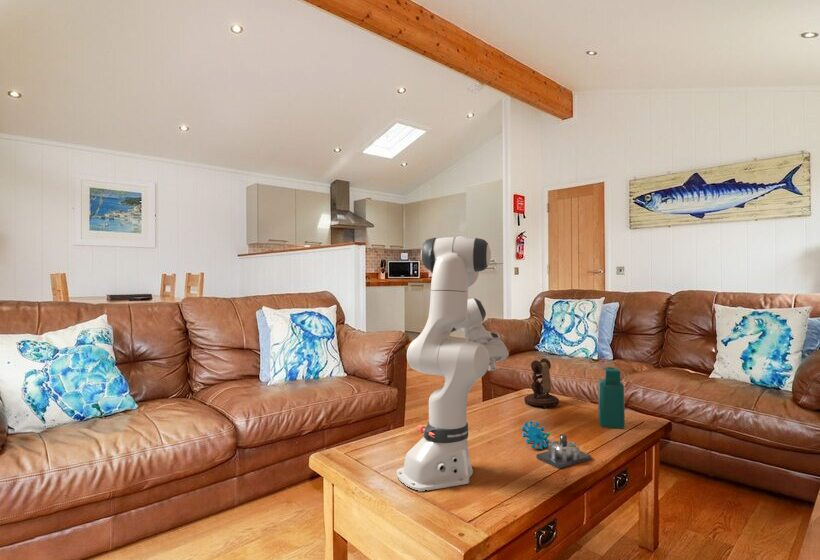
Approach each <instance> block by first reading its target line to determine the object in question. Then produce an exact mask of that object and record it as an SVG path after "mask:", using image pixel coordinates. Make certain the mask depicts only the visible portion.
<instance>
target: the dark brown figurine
mask: <svg viewBox="0 0 820 560" xmlns="http://www.w3.org/2000/svg"><path fill="white" fill-rule="evenodd" d="M551 367H552V365H551V361H550V360H549V359H548V358H541V359H540V360H537V359H536V360H533V361H532V362H531V364H530V368H531V370H532V375H533V376H532V377H531V379H532V380H533V381H532V384H531V390H532V392H533V393H528V394H527V395H525V396H524V399H523V400H524V404H525V405H528V404H530V405H532V406H541V407H543V409H544V410H546V408H547V407H553V406H557V405H559V403H560V400H559V398H558V397H557V396H555V395H553V394H550V392H551V390H552V381H551V375H550V371H551ZM539 379H541V380H540V381H537V380H539Z"/></svg>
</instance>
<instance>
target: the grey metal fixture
mask: <svg viewBox="0 0 820 560" xmlns="http://www.w3.org/2000/svg"><path fill="white" fill-rule="evenodd" d="M567 436H568V435H567V434H560V436H559V440H554V439H553V440H550V442H551V443H550V442H549V443H548V444H547V446H548V447H547V448H548V451H543V452H541V453H540V452H539V453H537V454H536V459H537V460H539V461H542V462H544V463H546V464H548V465H549V466H551V467H553V468H556V469H558V470H560V469H563V468H567V467H570V466H573V465H577V464H579V463H580V464H581V463H583V462H586V461H590V460H592V455H591V454H589V453H586V452H584V451H581V450H580V446H579V445H576V442H573V441H570V442H569V441H568V437H567Z"/></svg>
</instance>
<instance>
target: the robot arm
mask: <svg viewBox="0 0 820 560" xmlns="http://www.w3.org/2000/svg"><path fill="white" fill-rule="evenodd" d="M420 258H421V263H422V265H423V266H424V267H425V269H427V270H429V271H430V273H432V274H431V283H430V294H429V295H430V299H429V310H428V316H427V321H426V324H425V326H424V328H423V329H422V331H421V332H420V334H418V336H417V337H416V338H414V339H413V340H411V342H410V344H409V345H408V348H407V350H406V360H407V363H408V365H409V367H410V368H411V369H412V370H414V371H417V372H419V373H422V374H425V375H433V376H438V377H439V376H441V377H444V384H443V386H441V387H440V388H438V389H436V390H434V391H433V392H432V393H431V394H430V395H429V399H428V422H427V424H426V426H424V425H422V424H419V425H417V428H416V430H417V432H420V433H421V434H423V437H421V439H419V440H418V441H417V443H416V444H414V445H413V447H411V448H410V449H409V450H408V451H407V452H406V454H405V457H404V462H403V463H404V464H403V466H402V467H400V468H397V469H396V474H397V476H396V478H397V477H398V478H399V480H400V481H401V482H402V483H404V484H405V485H406V486H405V485H404V484H403V485H404V486H405V487H407V486H408V487H410V488H412V489H415V490H418V491H417V492H426V491H425V490H427V491H432V490H438V489H444V488H450V487H457V486H461V485H463V486H464V485H467V484H469V483H470V480H471V479H470V478H471V477H472V476H473V473H474V470H473V467H472V463H471V459H470V454H469V445H468V438H469V424H468V421H467V419H468V418H467V414H468V413H467V412H468V411H467V408H468V398H469V393H470V391H471V389H472V388H473V386H474V384H475V383H476V382H477V381H479V379H481V378H482V377H484V376H485V374H486V373H487V372H493V371H496V370H497V365H496V361H497V362H498V361H499V362H500V361H505V360H506V359H507V358H509V356H510V353H509V350H508V347H507V346H506V344H505V343H504V341H503V340H501V336H500V334H499V333H495V332H492V331H489V330H487V329H486V328H485V326H484V325H483V322H484V320H485V318H486V315H487V312H486V310H485V308H484V305H483V304H482V301H481V300H479V299H477V298H475V297H472V298H469V297H468V295H469V288H470V287H472V286H473V285H474V284H475V283H476V281H477V280H478V278H479V275H480V274H479V273H480V272H482V271H485V270H486V269H487V268H488V266H489V264H490V261H491V258H492V252H491V248H490V245H489V243H488V241H486V240H485V239H483V238H479V237H475V238H469V237H467V236H462V235H459V236H445V237H439V238H438V237H432V238H428V239H426V240H425V241H424V242H423V243H422V247H421V250H420ZM457 330H461V331H462V332H463V334H464V338H465V339H457V338H456V339H455V338H450V335H451V333H454V332H456V331H457ZM398 478H397V479H398ZM399 480H398V481H399ZM401 482H400V483H401ZM402 483H401V484H402ZM408 487H407V488H408ZM410 488H409V489H410ZM412 489H411V490H412ZM415 490H414V491H415Z"/></svg>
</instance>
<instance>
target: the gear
mask: <svg viewBox="0 0 820 560" xmlns="http://www.w3.org/2000/svg"><path fill="white" fill-rule="evenodd" d="M533 424H534V425H533ZM539 426H540V423H538V421H536V422H535V423H534V421H532V420H529V421H527V422H524V423H523V426H522V427H521V429H520V430H521V431H522V434H521V435H522V436H521V437H522V438H526V439H525V443H526V444H527V445H529V444H530V443H532V444H531V445H530V447H531V448H532V449H536V447H537V449H538V450H539V451H542V450H544V449H546V448H548V443H550V442H551V440H550V439H548V438H549V437H550V436H551V435H552V433H551V432H550V431H548V432H545V431H546V428H545V426H541V427H540V428H538V427H539ZM537 445H538V446H537Z"/></svg>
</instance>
